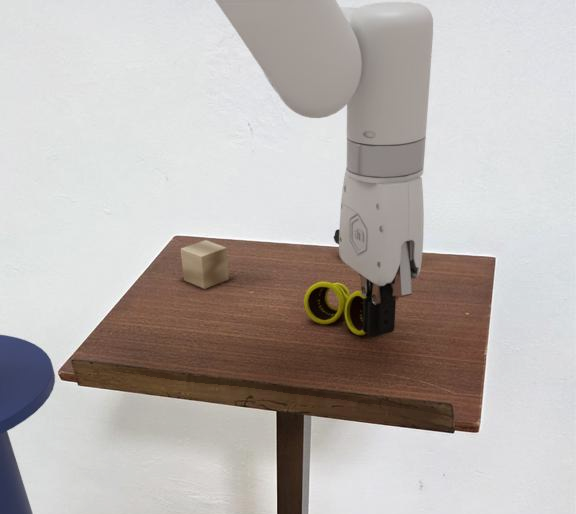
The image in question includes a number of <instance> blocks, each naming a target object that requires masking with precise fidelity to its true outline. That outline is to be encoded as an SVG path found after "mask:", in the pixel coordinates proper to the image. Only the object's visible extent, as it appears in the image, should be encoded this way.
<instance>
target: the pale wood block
mask: <svg viewBox="0 0 576 514" xmlns="http://www.w3.org/2000/svg"><path fill="white" fill-rule="evenodd" d="M180 257H181V266H182V275H183V281H184V282H187V283H189V284H191V285H193V286H196V287H199V288H201V289H203V290H207V289H208V288H211V287H214V286H215V285H219V284H222V283H223V282H226V281H229V280H230V275H229V259H228V248H227V246H223V245H221V244H218V243H215V242H212V241H209V240H207V239H205V240H202V241H199V242H196V243H193V244H190V245H187V246H185V247H181V248H180Z"/></svg>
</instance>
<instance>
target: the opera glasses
mask: <svg viewBox="0 0 576 514" xmlns="http://www.w3.org/2000/svg"><path fill="white" fill-rule="evenodd" d="M330 290H332V292H333V293H334V294H335V296H336V297H337V300H338V307H337V308H336V307H333V305H331V304H330V302H329V299H328V295H329V294H328V293H329V291H330ZM364 298H367V297H363V296H362V293H361V290H356V291H354V292H353V293H350V290H349V289H348V287H347V286H346V285H344V284H343V283H340V282H333V283H332V282H329V281H317V282H315V283H314V284H311V286H310V287H309V288H308V289H307V291H306V292H305V295H304V299H303V303H304V304H303V306H304V310H305V312H306V315H307V316H308V317H309V319H311V320H312V321H314V322H315V323H317V324H320V325H329V324H333V323H335V322H337V320H339V319H340V317H341V316H342V314H343V313H344V319H345V322H346V325H347V327H348V329H349V330H350V332H351V333H353V334H354V335H356V336H364V335H366V334H367V333H365V332H364V331H363V299H364Z"/></svg>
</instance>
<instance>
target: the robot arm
mask: <svg viewBox="0 0 576 514" xmlns="http://www.w3.org/2000/svg"><path fill="white" fill-rule="evenodd" d="M214 1H215V2H216V4H217V6H218V7H219V8H220V10H221V11H222V13H223V14H224V16H225V17H226V18H227V20H228V21H229V23H230V24H231V26H232V27H233V29H234V30H235V32H236V33H237V34H238V36H239V37H240V39H241V40H242V42H243V43H244V45H245V46H246V48H247V49H248V51H249V52H250V53H251V56H252V57H253V59H254V60H255V61H256V63H257V64H258V66H259V67H260V69H261V70H262V72H263V74H264V76H265V78H266V80H267V82H268V83H269V85H270V86H271V87H272V88H273V89H274V91H275V93H276V94H277V95H278V97H279V98H280V100H281V101H282V102H283V104H284V105H285V106H286V107H287V108H288V109H290V110H291V111H292V112H294V113H296V114H297V115H300V116H301V117H305V118H309V119H322V118H327V117H330V116H332V115H334V114H337V113H339V112H340V111H341V110H342V109H344V108H345V107H346V167H345V172H344V177H343V182H342V189H341V190H342V191H341V198H340V199H341V200H340V210H339V211H340V212H339V244H338V255H339V257H340V260H341V261H342V262H343V263H344V264H346V265H347V267H349V268H350V269H352V270H353V271H355V272H356V273H357V274H358V275H359V277H360V278H359V279H360V291H361V293H362V296H363V297H367V298H364V299H363V331H364V332H365V333H366V334H367V336H369V337H370V338H374V337H378V336H383V335H387V334H390V333H393V332H394V331H395V326H396V324H395V322H396V308H397V307H396V306H397V304H396V303H397V300H399V299H401V298H405V297H408V296H411V295H412V293H413V289H412V287H413V286H412V279H414V280H415V279H417V278H418V276H419V275H420V272H421V267H422V261H423V252H424V251H423V250H424V225H425V223H424V221H425V219H424V217H425V215H424V213H425V212H424V210H425V209H424V190H423V178H422V177H421V176H423V174H424V166H425V155H426V154H425V153H426V139H427V137H426V136H427V127H428V126H427V125H428V112H429V111H428V110H429V97H430V81H431V70H432V69H431V68H432V55H433V54H432V53H433V39H434V18H433V14H432V13H431V11H430V9H429V8H428V7H427V6H426V5H424V4H421V3H418V2H411V1H383V2H375V3H368V4H365V5H364V4H363V5H362V6H360V7H349V6H348V7H347V6H340V5H339V3H338V1H337V0H214Z"/></svg>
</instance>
